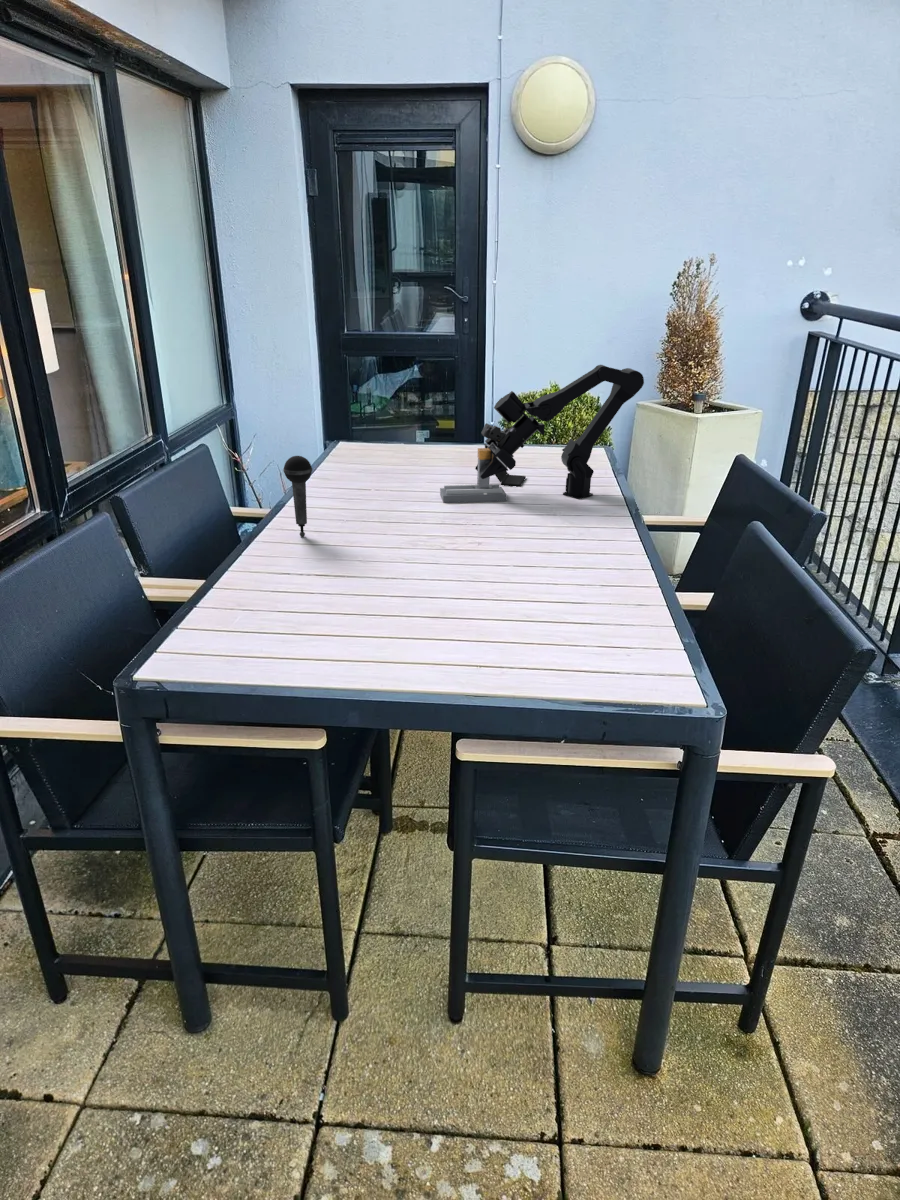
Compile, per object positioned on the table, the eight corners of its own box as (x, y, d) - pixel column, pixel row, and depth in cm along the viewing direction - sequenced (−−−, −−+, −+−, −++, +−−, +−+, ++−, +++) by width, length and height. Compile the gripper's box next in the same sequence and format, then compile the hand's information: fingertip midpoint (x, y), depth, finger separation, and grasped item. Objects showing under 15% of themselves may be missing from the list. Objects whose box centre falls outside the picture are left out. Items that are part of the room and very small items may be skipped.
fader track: (501, 493, 231) (501, 482, 229) (506, 501, 223) (506, 490, 222) (440, 495, 228) (440, 484, 227) (443, 502, 221) (443, 491, 220)
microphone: (310, 542, 189) (305, 460, 181) (283, 540, 191) (277, 458, 183) (320, 533, 196) (315, 453, 188) (294, 531, 197) (288, 452, 189)
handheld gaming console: (527, 482, 237) (508, 455, 235) (507, 496, 239) (488, 469, 237) (527, 478, 248) (508, 452, 246) (508, 491, 250) (490, 465, 248)
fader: (490, 489, 227) (492, 448, 222) (492, 491, 224) (493, 450, 220) (473, 489, 227) (474, 448, 222) (475, 492, 224) (476, 450, 219)
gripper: (493, 408, 226) (454, 446, 229) (505, 420, 209) (463, 462, 212) (519, 435, 230) (480, 473, 233) (533, 449, 213) (491, 489, 216)
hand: (478, 473), depth 223 cm, fingers open, 9 cm apart
